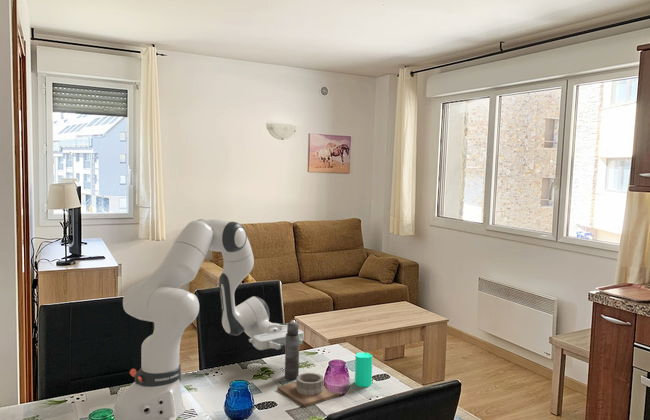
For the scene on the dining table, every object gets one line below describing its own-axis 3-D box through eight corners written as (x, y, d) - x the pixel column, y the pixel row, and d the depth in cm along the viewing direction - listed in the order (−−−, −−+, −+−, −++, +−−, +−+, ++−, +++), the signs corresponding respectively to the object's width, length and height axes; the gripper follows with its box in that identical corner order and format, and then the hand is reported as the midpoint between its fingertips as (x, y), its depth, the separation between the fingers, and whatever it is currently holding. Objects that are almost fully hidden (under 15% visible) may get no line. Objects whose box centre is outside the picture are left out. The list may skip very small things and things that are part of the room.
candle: (372, 387, 176) (373, 353, 175) (355, 386, 176) (356, 353, 175) (371, 380, 182) (371, 348, 181) (354, 379, 182) (355, 347, 181)
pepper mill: (289, 381, 179) (291, 322, 178) (282, 376, 183) (283, 319, 182) (301, 378, 182) (302, 320, 181) (293, 373, 186) (294, 317, 185)
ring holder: (304, 407, 159) (304, 392, 159) (277, 389, 172) (277, 375, 172) (342, 394, 169) (343, 380, 169) (314, 379, 182) (314, 365, 182)
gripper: (246, 331, 187) (265, 341, 176) (291, 322, 200) (312, 331, 189) (246, 347, 188) (265, 358, 177) (291, 338, 200) (312, 347, 189)
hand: (290, 344), depth 183 cm, fingers open, 8 cm apart
